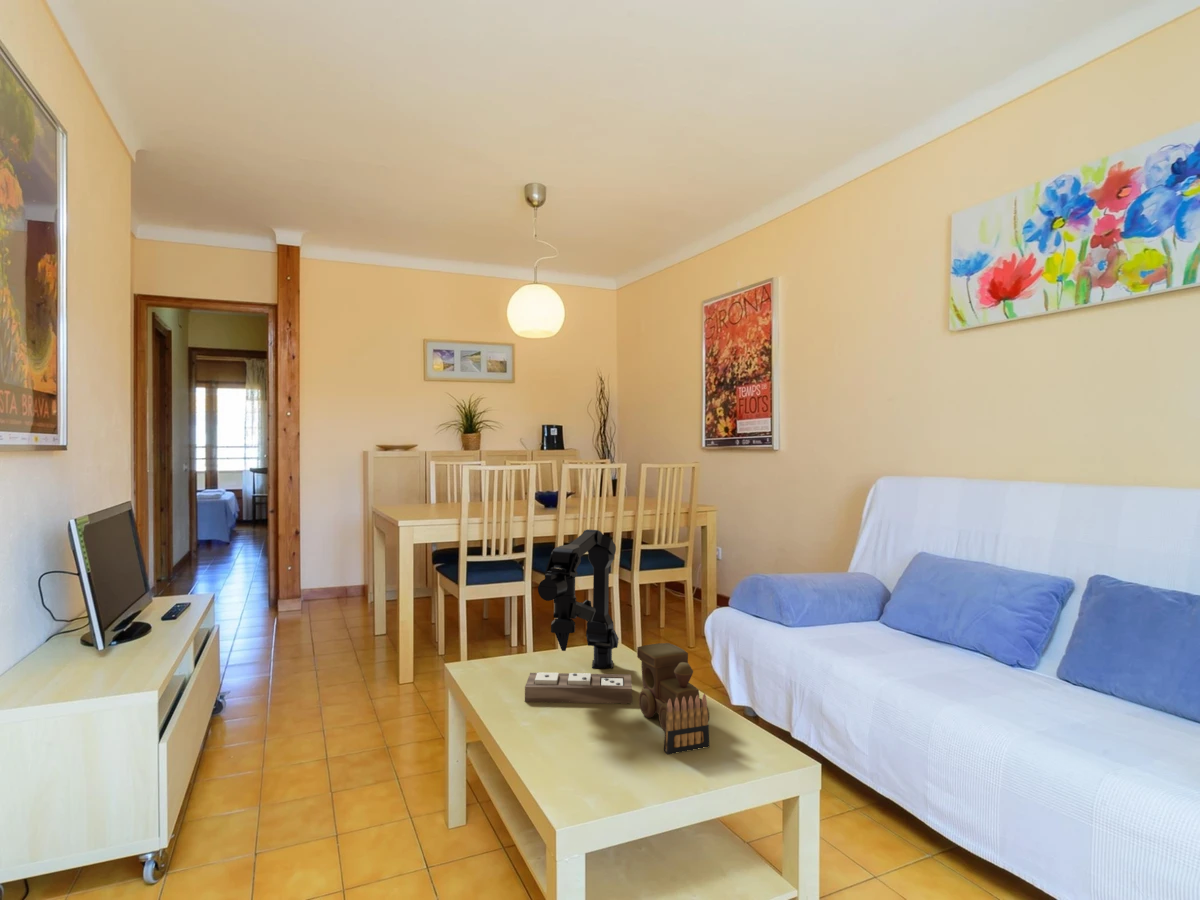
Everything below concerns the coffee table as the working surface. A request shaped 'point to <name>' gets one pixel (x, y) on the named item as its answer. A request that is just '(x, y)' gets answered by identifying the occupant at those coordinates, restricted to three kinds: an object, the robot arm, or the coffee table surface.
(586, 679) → the two dot tile
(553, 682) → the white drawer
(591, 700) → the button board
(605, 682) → the three dot tile
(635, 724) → the coffee table surface
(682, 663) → the wooden toy train
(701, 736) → the ammunition clip
